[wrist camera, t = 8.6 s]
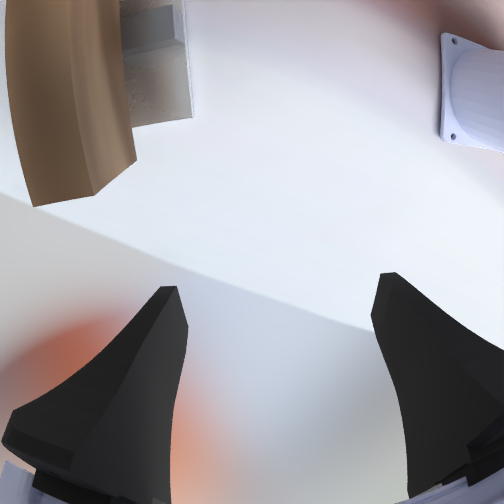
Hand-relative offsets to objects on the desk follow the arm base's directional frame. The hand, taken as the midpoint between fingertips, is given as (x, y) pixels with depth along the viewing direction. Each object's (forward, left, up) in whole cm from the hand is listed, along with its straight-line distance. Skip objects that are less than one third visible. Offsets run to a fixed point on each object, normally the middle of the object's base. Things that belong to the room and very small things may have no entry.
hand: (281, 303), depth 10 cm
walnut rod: (+9, -11, -7) cm, 15 cm away
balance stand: (+9, -11, -10) cm, 17 cm away
